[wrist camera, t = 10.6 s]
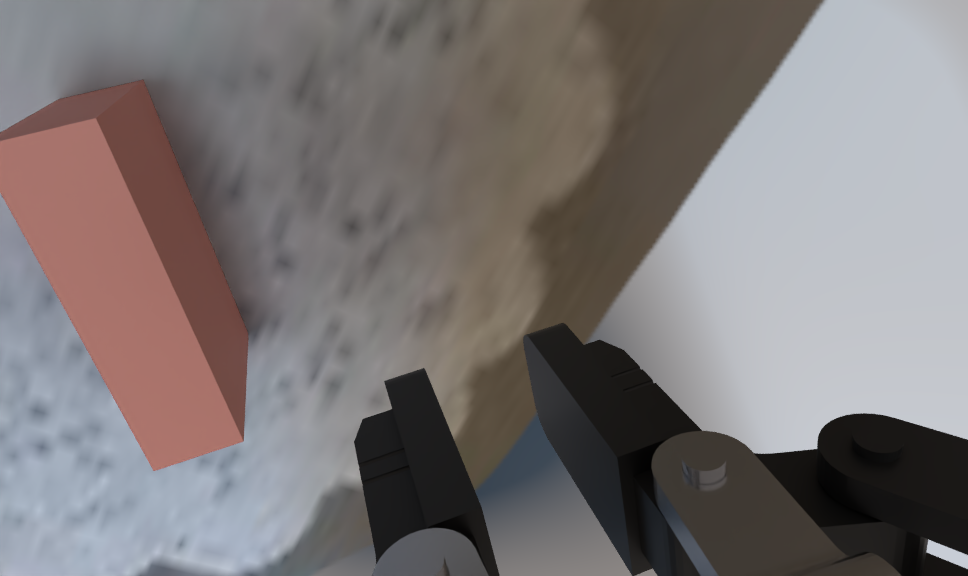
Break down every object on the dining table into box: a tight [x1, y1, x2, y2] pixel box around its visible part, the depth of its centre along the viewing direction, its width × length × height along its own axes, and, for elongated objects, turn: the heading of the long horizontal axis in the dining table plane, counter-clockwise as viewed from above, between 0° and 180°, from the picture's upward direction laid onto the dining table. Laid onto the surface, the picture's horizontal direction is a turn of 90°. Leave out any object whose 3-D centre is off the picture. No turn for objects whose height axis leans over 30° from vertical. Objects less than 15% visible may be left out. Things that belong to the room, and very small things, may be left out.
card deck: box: [0, 80, 248, 471], centre depth 19 cm, size 9×2×6 cm, turn 11°
